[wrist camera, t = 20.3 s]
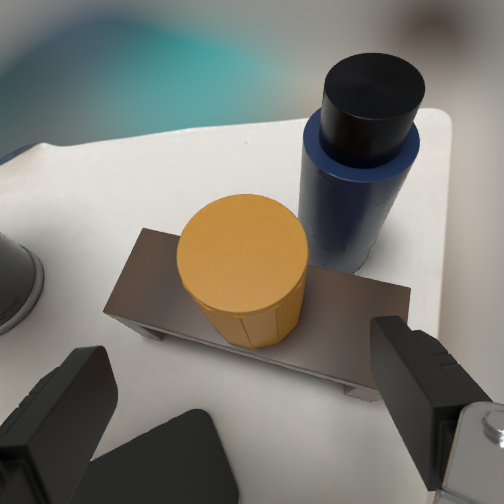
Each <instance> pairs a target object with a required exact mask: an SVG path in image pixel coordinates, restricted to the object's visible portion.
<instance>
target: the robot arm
mask: <svg viewBox="0 0 504 504" xmlns="http://www.w3.org/2000/svg"><path fill="white" fill-rule="evenodd" d="M42 284H43V270H42V266H41V263H40V261H39V259H38V258H37V257H36V256H35V255H34V254H33V253H32V252H31V251H29V250H28V249H26V248H25V247H23V246H21V245H19V244H17V243H15V242H14V241H12V240H11V239H9V238H8V237H6V236H5V235H4V234H2V233H1V232H0V334H1V333H3V332H5V331H7V330H9V329H10V328H12V327H13V326H15V325H16V324H17V323H18V322H20V321H21V320H22V319H23V318H24V317H25V316H26V315H27V314H28V312H29V311H30V310H31V309H32V307H33V306H34V304H35V302H36V301H37V299H38V296H39V294H40V291H41V288H42ZM370 363H371V371H372V375H373V379H374V382H375V384H376V387H377V389H378V391H379V393H380V395H381V397H382V399H383V401H384V403H385V405H386V407H387V409H388V411H389V413H390V415H391V417H392V419H393V421H394V423H395V425H396V427H397V429H398V431H399V433H400V435H401V437H402V439H403V441H404V443H405V445H406V447H407V449H408V451H409V453H410V455H411V457H412V459H413V461H414V464H415V466H416V468H417V470H418V472H419V474H420V476H421V478H422V480H423V482H424V484H425V486H426V488H427V490H428V491H436V494H435V497H434V501H433V504H504V404H500V403H494V402H493V401H492V400H491V399H490V398H489V397H488V395H487V394H486V393H485V392H484V391H483V390H482V389H481V388H480V387H479V385H478V384H477V383H476V382H475V381H474V380H473V379H472V378H471V377H470V375H469V374H468V373H467V372H466V371H465V370H464V369H463V368H462V367H461V365H460V364H457V361H456V360H455V359H454V358H453V357H452V355H451V354H448V351H447V350H446V349H445V348H444V347H443V346H442V344H441V343H440V342H439V341H438V340H437V339H436V338H434V337H432V336H430V335H428V334H427V333H425V332H423V331H421V330H414V331H412V330H411V329H410V328H409V327H408V326H407V324H406V323H405V322H404V321H403V319H402V318H401V317H400V316H399V315H390V316H381V317H372V318H371V320H370ZM117 402H118V388H117V385H116V381H115V378H114V374H113V371H112V368H111V364H110V361H109V358H108V354H107V351H106V349H105V348H104V347H103V346H91V347H82V348H76V349H74V350H73V351H72V352H71V353H70V355H69V356H68V357H67V358H66V359H65V361H64V362H63V363H62V364H61V365H60V367H57V368H55V369H54V370H53V371H51V372H50V373H49V374H47V375H46V376H45V377H43V378H42V379H41V380H40V381H39V382H38V383H37V384H36V385H35V387H34V388H33V389H32V390H31V391H30V392H29V396H26V397H25V398H24V399H23V400H22V402H21V403H20V404H19V407H18V408H16V409H15V410H14V411H13V412H12V413H11V414H10V416H9V417H8V418H7V419H6V420H5V421H4V423H3V424H2V425H1V426H0V504H69V502H70V500H71V498H72V496H73V494H74V492H75V490H76V488H77V486H78V484H79V482H80V480H81V478H82V476H83V474H84V472H85V470H86V468H87V466H88V464H89V462H90V460H91V458H92V456H93V454H94V452H95V450H96V448H97V446H98V444H99V442H100V440H101V437H102V435H103V433H104V431H105V429H106V427H107V425H108V423H109V421H110V419H111V417H112V415H113V413H114V411H115V409H116V406H117Z"/></svg>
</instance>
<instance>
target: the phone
mask: <svg viewBox="0 0 504 504" xmlns="http://www.w3.org/2000/svg"><path fill="white" fill-rule="evenodd" d="M238 501H239V493H238V488H237V486H236V483H235V480H234V477H233V475H232V472H231V469H230V467H229V464H228V461H227V459H226V456H225V454H224V451H223V448H222V446H221V443H220V440H219V438H218V435H217V433H216V430H215V427H214V425H213V422H212V420H211V418H210V416H209V414H208V413H207V412H206V411H204V410H201V409H193V410H190V411H187V412H185V413H183V414H181V415H180V416H178V417H175V418H173V419H171V420H169V421H168V422H166V423H164V424H161V425H159V426H157V427H155V428H153V429H151V430H150V431H149V432H147V433H144V434H142V435H140V436H138V437H136V438H134V439H132V440H131V441H129V442H127V443H126V444H124V445H122V446H120V447H118V448H116V449H114V450H112V451H110V452H108V453H106V454H104V455H102V456H100V457H99V458H97V459H95V460H93V461H91V462H89V464H88V466H87V468H86V470H85V472H84V474H83V476H82V478H81V480H80V482H79V484H78V486H77V488H76V490H75V492H74V494H73V496H72V498H71V500H70V502H69V504H238Z"/></svg>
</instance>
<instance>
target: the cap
mask: <svg viewBox="0 0 504 504" xmlns="http://www.w3.org/2000/svg"><path fill="white" fill-rule="evenodd" d="M309 254H310V253H309V248H308V243H307V238H306V234H305V231H304V229H303V227H302V225H301V223H300V222H299V220H298V219H297V218H296V216H295V215H294V214H293V213H292V212H291V211H290V210H289V209H288V208H286V207H285V206H283V205H282V204H281V203H279V202H277V201H275V200H273V199H270V198H267V197H264V196H260V195H253V194H240V195H232V196H227V197H224V198H221V199H218V200H216V201H214V202H212V203H210V204H208V205H207V206H205V207H204V208H202V209H201V210H200V211H199V212H197V213H196V214H195V215H194V216H193V217H192V219H191V220H190V221H189V222H188V224H187V225H186V227H185V228H184V230H183V232H182V234H181V237H180V240H179V242H178V247H177V267H178V271H179V274H180V277H181V279H182V284H183V286H184V288H185V289H186V290H187V292H188V293H189V294H190V296H191V297H192V298H193V300H194V301H195V302H196V304H197V305H198V306H199V308H200V309H201V311H202V312H203V313H204V315H205V316H206V317H207V319H208V320H209V321H210V323H211V324H212V325H213V326H214V327H215V329H216V330H217V331H218V332H219V333H220V334H221V335H222V336H223V337H224V338H225V339H226V341H227V342H229V343H231V344H235V345H238V346H242V347H246V348H249V349H258V348H262V347H266V346H269V345H273V344H277V343H278V342H280V341H281V340H282V339H283V338H284V337H285V336H286V335H287V334H288V333H289V332H290V331H291V330H292V329H293V328H294V327H295V326H296V325H297V323H298V319H299V314H300V310H301V306H302V302H303V295H304V288H305V281H306V274H307V267H308V260H309Z"/></svg>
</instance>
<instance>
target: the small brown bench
mask: <svg viewBox="0 0 504 504" xmlns="http://www.w3.org/2000/svg"><path fill="white" fill-rule="evenodd" d="M180 237H181V236H177V235H173V234H168V233H164V232H159V231H155V230H150V229H146V228H143V229H142V231H141V233H140V235H139V237H138V239H137V241H136V243H135V245H134V247H133V249H132V252H131V254H130V256H129V258H128V260H127V262H126V264H125V266H124V268H123V270H122V273H121V275H120V277H119V279H118V281H117V283H116V285H115V287H114V289H113V291H112V293H111V296H110V298H109V300H108V302H107V304H106V306H105V308H104V310H103V312H104V313H105V314H107V315H109V316H110V317H112V318H115V319H116V320H118V321H120V322H121V323H123V324H124V325H126V326H128V327H129V328H131V329H133V330H134V331H136V332H137V333H139V334H141V335H143V336H146V337H149V338H153V339H156V340H160V341H162V339H163V337H164V334H165V333H167V334H171V335H174V336H178V337H181V338H185V339H188V340H192V341H195V342H199V343H202V344H206V345H209V346H213V347H216V348H220V349H223V350H227V351H230V352H234V353H237V354H241V355H244V356H248V357H251V358H255V359H258V360H262V361H265V362H269V363H272V364H276V365H279V366H283V367H286V368H290V369H293V370H296V371H300V372H303V373H307V374H310V375H314V376H317V377H321V378H324V379H328V380H331V381H335V382H338V383H342V384H345V385H346V387H345V393H344V394H345V395H348V396H351V397H355V398H358V399H362V400H365V401H369V402H371V401H375V400H379V399H382V397H381V395H380V393H379V391H378V389H377V387H376V384H375V382H374V379H373V375H372V371H371V363H370V320H371V318H372V317H381V316H390V315H399V316H400V317H401V318H402V319H403V321H404V322H405V323H406V324H407V321H408V311H409V302H410V292H411V288H409V287H404V286H400V285H395V284H391V283H386V282H382V281H377V280H373V279H368V278H364V277H360V276H355V275H351V274H346V273H342V272H337V271H333V270H328V269H324V268H320V267H315V266H311V265H308V267H307V274H306V281H305V288H304V295H303V302H302V306H301V310H300V314H299V319H298V323H297V325H296V326H295V327H294V328H293V329H292V330H291V331H290V332H289V333H288V334H287V335H286V336H285V337H284V338H283V339H282V340H281V341H280V342H278V343H277V344H273V345H269V346H266V347H262V348H258V349H249V348H246V347H242V346H238V345H235V344H231V343H229V342H227V341H226V339H225V338H224V337H223V336H222V335H221V334H220V333H219V332H218V331H217V330H216V329H215V327H214V326H213V325H212V324H211V323H210V321H209V320H208V319H207V317H206V316H205V315H204V313H203V312H202V311H201V309H200V308H199V306H198V305H197V304H196V302H195V301H194V300H193V298H192V297H191V296H190V294H189V293H188V292H187V290H186V289H185V288H184V286H183V284H182V279H181V277H180V274H179V271H178V267H177V247H178V242H179V240H180Z"/></svg>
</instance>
